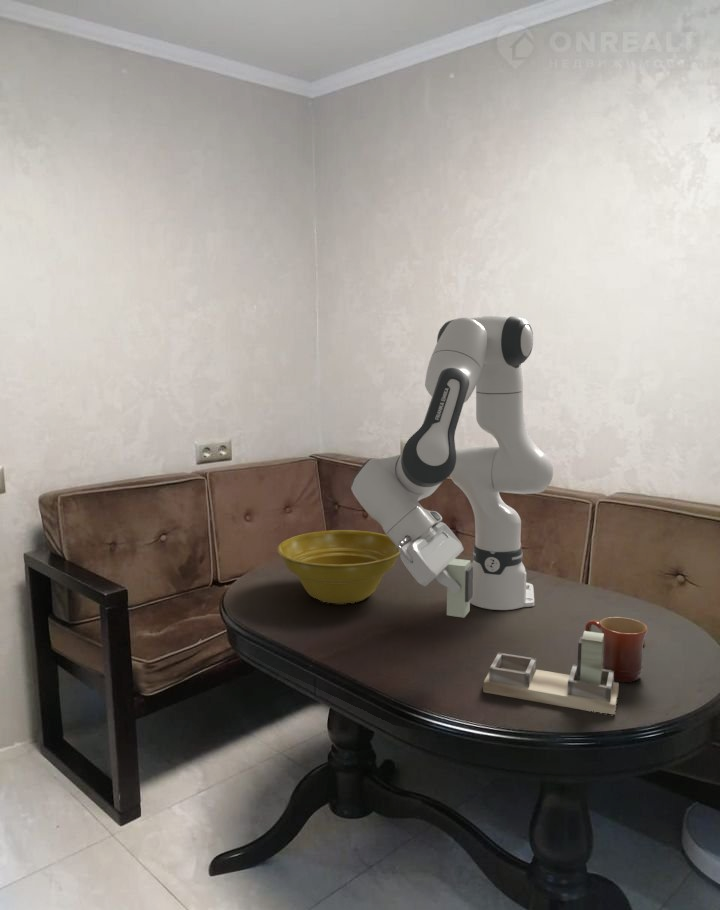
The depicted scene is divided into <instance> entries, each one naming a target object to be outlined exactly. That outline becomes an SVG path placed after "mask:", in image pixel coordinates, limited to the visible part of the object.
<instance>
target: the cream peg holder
mask: <svg viewBox="0 0 720 910" xmlns="http://www.w3.org/2000/svg"><path fill="white" fill-rule="evenodd" d="M603 644H604V634H603V633H601V632H595V631H591V632H589V631H585V630H583V634H582V636H579V640H578V644H577V649H578V650H577V664H572V667H571V669H570V673H569V674H566V673H560V672H553V671H548V670H547V671H546V670H543V669H537V658H535V657H531V656H530V657H527V656H522V655H518V654H517V655H516V654H510V653H509V654H508V653H503V652H498V653H497V655H495V656H496V657H495V658H494V659H493V662H492V663H491V665H490V667H489V669H488V670H489V671H488V673H487V675H486V677H485V678H484V680H483V687H482V688H483V691H482V692H483V693H486V694H492V695H498V696H503V697H509V698H513V699H514V698H515V699H518V700H519V699H520V700H525V701H530V702H536V703H541V704H548V705H553V706H559V707H564V708H570V709H575V710H581V711H587V712H591V711H592V713H596V712H600V713H599V714H602V713H609V714H615V715H616V712H615V711H616V710H617V705H616V704H618V699H617V698H618V697H619V689H620V688H619V686H620V685H619V683H620V682H617V681H615V680H614V671H612V670H606V669H602V666H603ZM593 711H594V712H593Z"/></svg>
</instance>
